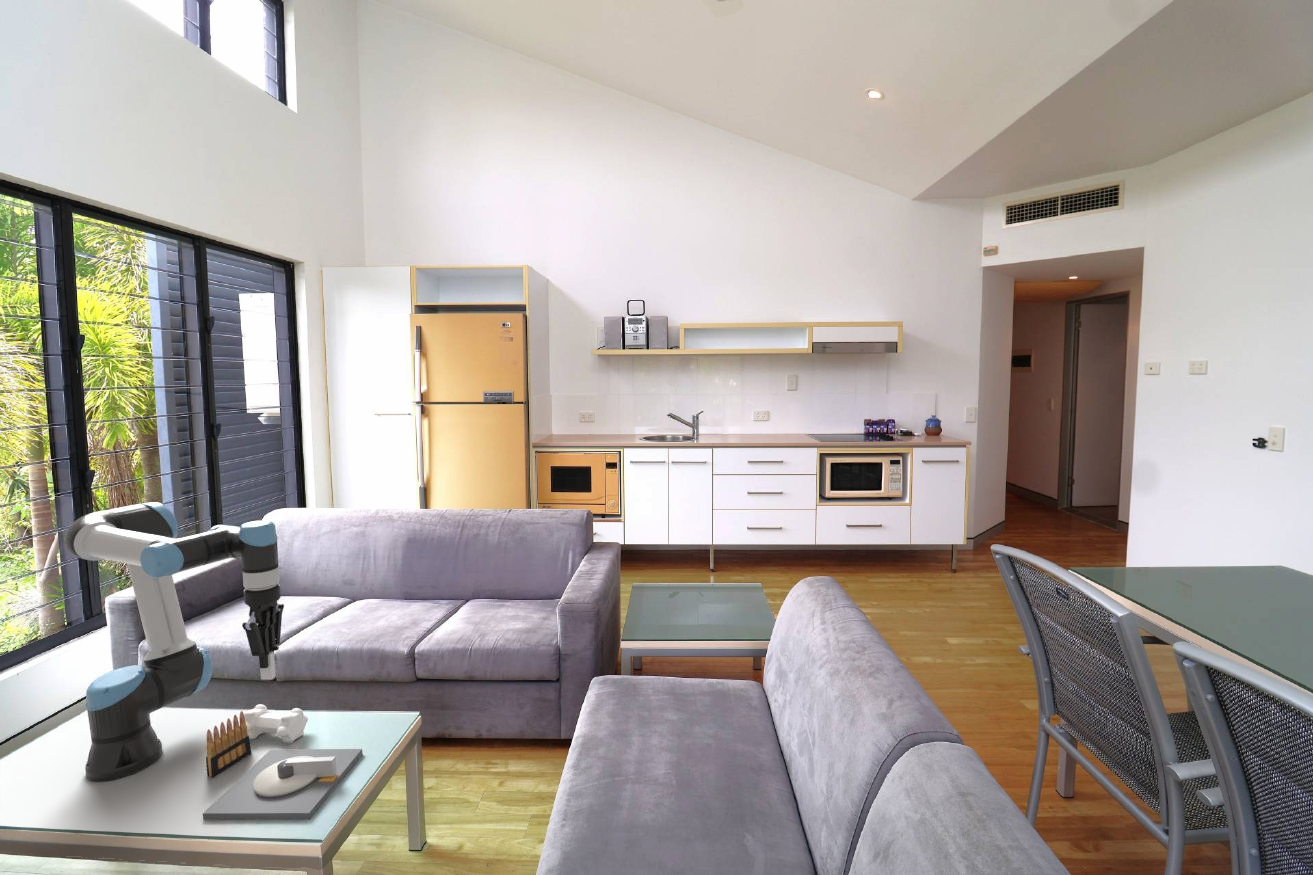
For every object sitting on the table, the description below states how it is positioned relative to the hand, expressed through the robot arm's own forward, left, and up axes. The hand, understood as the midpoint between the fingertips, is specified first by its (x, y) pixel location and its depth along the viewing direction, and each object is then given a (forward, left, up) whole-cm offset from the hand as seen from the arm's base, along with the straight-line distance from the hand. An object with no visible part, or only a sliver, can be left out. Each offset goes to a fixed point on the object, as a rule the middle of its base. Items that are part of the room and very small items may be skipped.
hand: (268, 677), depth 159 cm
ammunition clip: (-13, +1, -24) cm, 27 cm away
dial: (+9, -7, -22) cm, 24 cm away
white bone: (-9, +13, -24) cm, 29 cm away
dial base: (+7, -7, -23) cm, 25 cm away
